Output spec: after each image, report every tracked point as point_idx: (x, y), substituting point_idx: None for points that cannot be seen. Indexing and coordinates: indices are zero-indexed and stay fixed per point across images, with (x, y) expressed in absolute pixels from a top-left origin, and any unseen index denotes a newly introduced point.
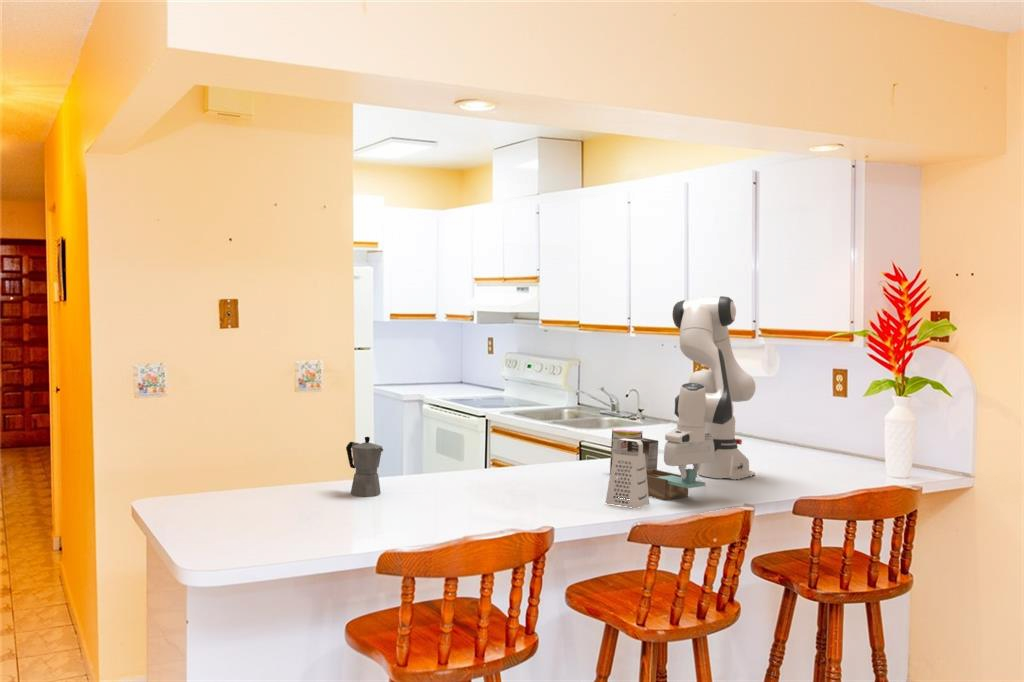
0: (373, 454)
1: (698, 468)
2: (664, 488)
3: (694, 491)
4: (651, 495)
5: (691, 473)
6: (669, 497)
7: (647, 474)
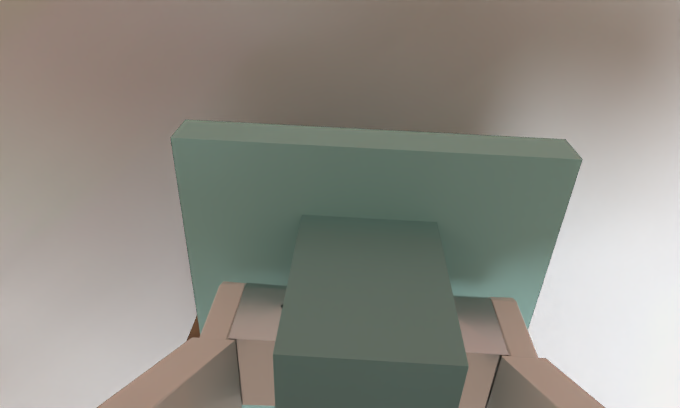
0: None
1: (163, 387)
2: None
3: (35, 342)
4: None
5: (405, 321)
6: None
7: None
